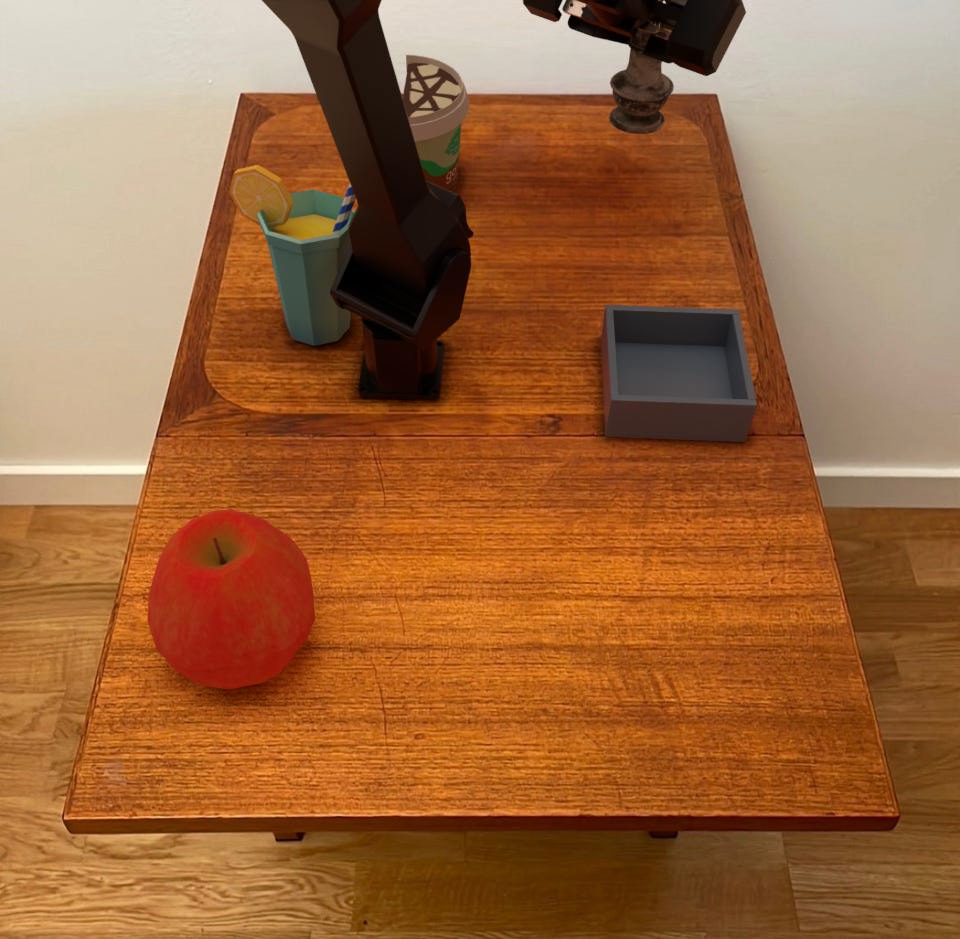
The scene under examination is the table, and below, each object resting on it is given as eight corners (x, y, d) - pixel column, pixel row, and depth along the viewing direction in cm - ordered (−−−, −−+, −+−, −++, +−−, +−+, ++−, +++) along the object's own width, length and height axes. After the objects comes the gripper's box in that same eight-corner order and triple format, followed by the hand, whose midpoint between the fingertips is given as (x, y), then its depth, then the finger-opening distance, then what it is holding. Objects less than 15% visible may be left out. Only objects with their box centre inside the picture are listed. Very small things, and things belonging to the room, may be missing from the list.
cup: (414, 302, 87) (412, 141, 76) (408, 358, 81) (406, 193, 70) (253, 296, 86) (229, 133, 76) (237, 352, 81) (208, 185, 70)
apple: (350, 659, 64) (333, 565, 56) (198, 737, 60) (156, 649, 52) (283, 547, 69) (259, 448, 61) (140, 613, 66) (95, 516, 58)
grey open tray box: (745, 442, 76) (757, 405, 73) (605, 437, 76) (611, 399, 73) (728, 347, 83) (739, 309, 80) (600, 342, 83) (605, 304, 80)
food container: (467, 219, 94) (467, 122, 86) (402, 218, 94) (396, 121, 86) (471, 147, 102) (471, 52, 94) (411, 146, 102) (406, 51, 94)
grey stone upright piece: (680, 122, 94) (704, -7, 85) (637, 142, 92) (657, 12, 83) (635, 97, 97) (654, -30, 88) (593, 116, 95) (607, -12, 86)
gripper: (763, -115, 71) (792, -10, 85) (550, -172, 79) (609, -66, 93) (689, 33, 73) (729, 112, 87) (487, -36, 80) (555, 47, 95)
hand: (654, 46), depth 90 cm, fingers closed on grey stone upright piece, 3 cm apart
